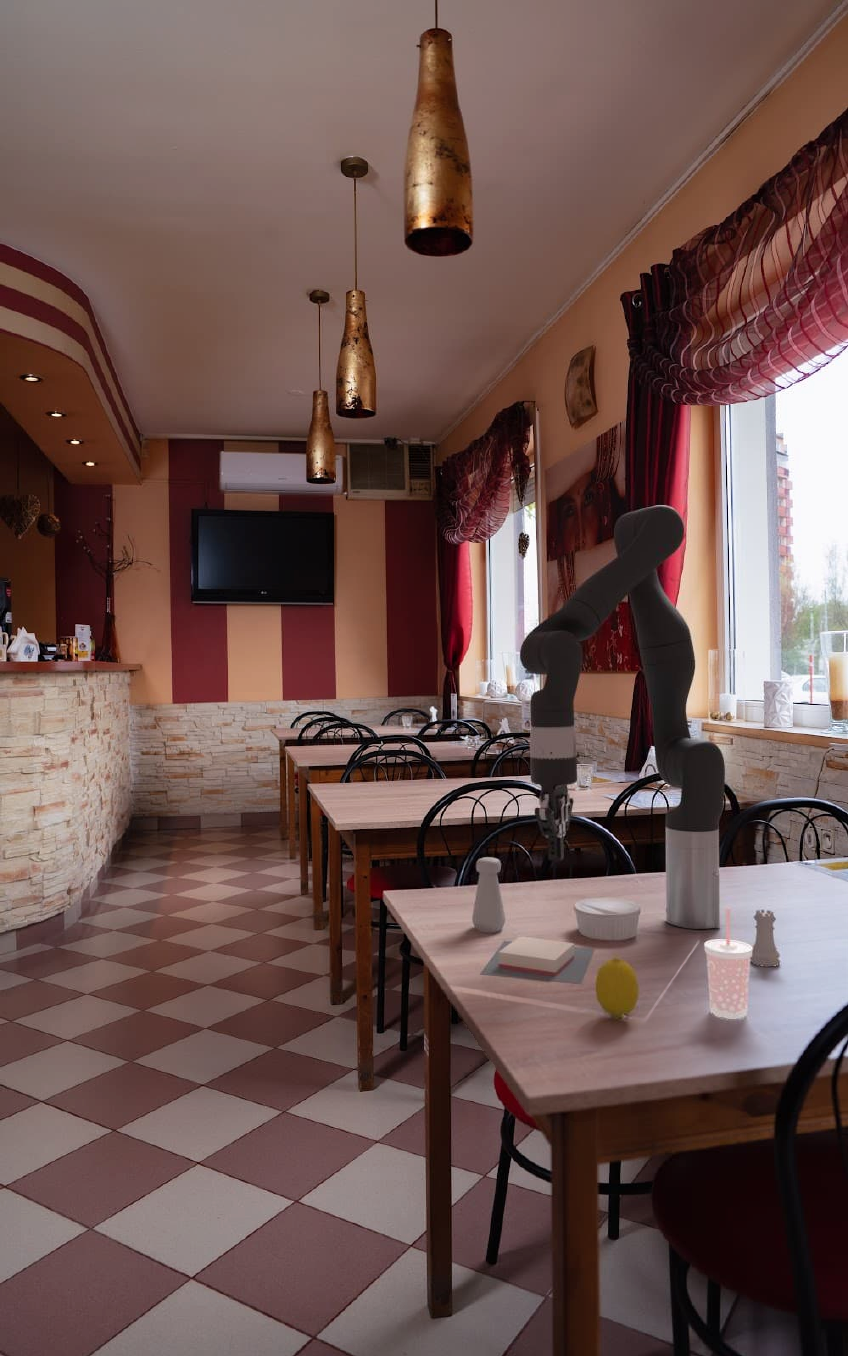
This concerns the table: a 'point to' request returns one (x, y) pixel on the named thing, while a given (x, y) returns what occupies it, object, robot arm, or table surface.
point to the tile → (536, 956)
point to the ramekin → (607, 918)
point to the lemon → (617, 987)
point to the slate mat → (568, 975)
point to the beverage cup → (728, 975)
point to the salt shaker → (488, 897)
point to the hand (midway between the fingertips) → (556, 859)
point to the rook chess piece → (765, 940)
